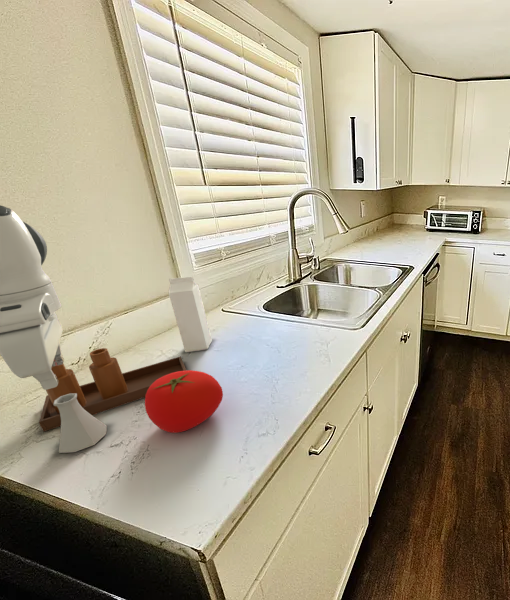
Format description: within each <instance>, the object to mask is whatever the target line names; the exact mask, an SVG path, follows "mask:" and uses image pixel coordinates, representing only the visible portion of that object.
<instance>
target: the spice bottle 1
mask: <svg viewBox="0 0 510 600" xmlns="http://www.w3.org/2000/svg"><path fill="white" fill-rule="evenodd" d="M51 370H52V372H53V373H54V374H56V376H57V379H58V386H57V387H54V388H51V389H48V390H45V391H46V394H47V395H48V396H49V398H50V400H51V402H52V404H53V406H54V401H55V400H56V399H57V398H59V397H60V396H63V395H67V394H72V393H77V401H78V403H79V404H80V405H81V406H82V407H83V406H85V405H86V403H87V401H86V399H85V397H84V394H83V392H82V390H81V388H80V386H81V385H80V383H79V381H78V379H77V377H76V374H75V372H74V370H73V369H70V368H66V366H65V363H63V364H62V365H57V366H52V367H51ZM54 408H55V410H56V412H57V413H58V414H60V411H59V409H58V407H57V406H54Z"/></svg>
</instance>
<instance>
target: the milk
mask: <svg viewBox="0 0 510 600" xmlns="http://www.w3.org/2000/svg"><path fill="white" fill-rule="evenodd" d="M168 281H169V288H168V297H169V300H170V304H171V308H172V310H173V314H174V318H175V320H176V325H177V328H178V331H179V335H180V338H181V342H182V345H183V350H184V352H185V353H190V352H199V351H204V350H206V351H207V350H208V349H209V347H210V346H211V343H212V341H213V339H212V334H211V331H210V330H211V329H210V326H209V323H208V319H207V313H206V310H205V307H204V303H203V298H202V293H201V290H200V286H199V284H198V283H197V282H196V281H195V280H194V277H193V276H184V277H171V278H169V279H168Z"/></svg>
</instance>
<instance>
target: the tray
mask: <svg viewBox="0 0 510 600" xmlns="http://www.w3.org/2000/svg"><path fill="white" fill-rule="evenodd" d="M178 371H187V368H186V365H185V362H184V360H183V358H182V355H180V356H177V357H172V358H169V359H166V360H163V361H160V362H156V363H153V364H150V365H146V366H143V367H139V368H135V369H133V370H129V371H125V372H122V374H123V377H124V380H125V382H126V385H127V388H128V391H127V392H126V393H123V394H120V395H117V396H114V397H111V398H108V399H105V400H103V399H102V398H101V395H100V393H99V391H98V388H97V386H96V383H95V381H92V382H89V383H83V384H81V385H80V388H81V390H82V392H83V394H84V397H85V399H86V401H87V403H86V405H85V406H83V407H82V408H83V409H84V410H86V411H87V412H88V413H90V414H91V415H92V416H94V415H97V414H100V413H103V412H106V411H109V410H113V409H116V408H119V407H120V406H123V405H127V404H130V403H133V402H136V401H138V400H142V399H145V396H146V393H147V390H148V388H149V387H150V386H151V385H152V384H153V383H154V382H155V381H156V380H157V379H159V378H161V377H163V376H165V375H168V374H170V373H174V372H178ZM38 423H39V426H40V427H41V429H42V432H48V431H50V430H53V429H57V428H59V427H61V416H60V414H58V413H57V412H56V410H55V408H54V406H53V404H52V402H51V400H50V398H49V396H48V394H47V395H46V396H45V400H44V403H43V406H42V409H41V413H40V417H39V420H38Z"/></svg>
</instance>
